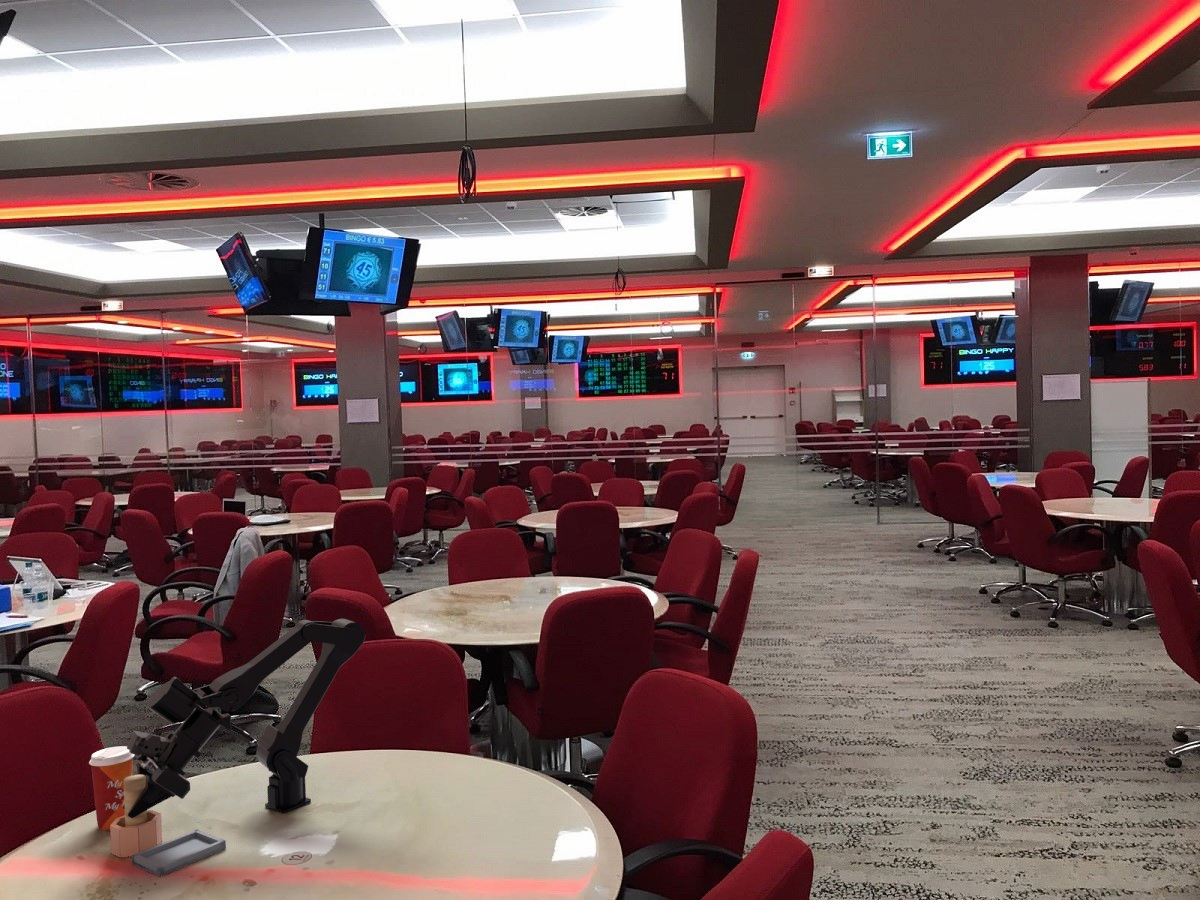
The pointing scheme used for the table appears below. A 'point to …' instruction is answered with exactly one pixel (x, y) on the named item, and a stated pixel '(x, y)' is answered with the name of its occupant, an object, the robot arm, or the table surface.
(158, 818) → the pot
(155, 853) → the slate tray
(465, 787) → the table surface
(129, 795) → the oak peg
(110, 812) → the paper cup
